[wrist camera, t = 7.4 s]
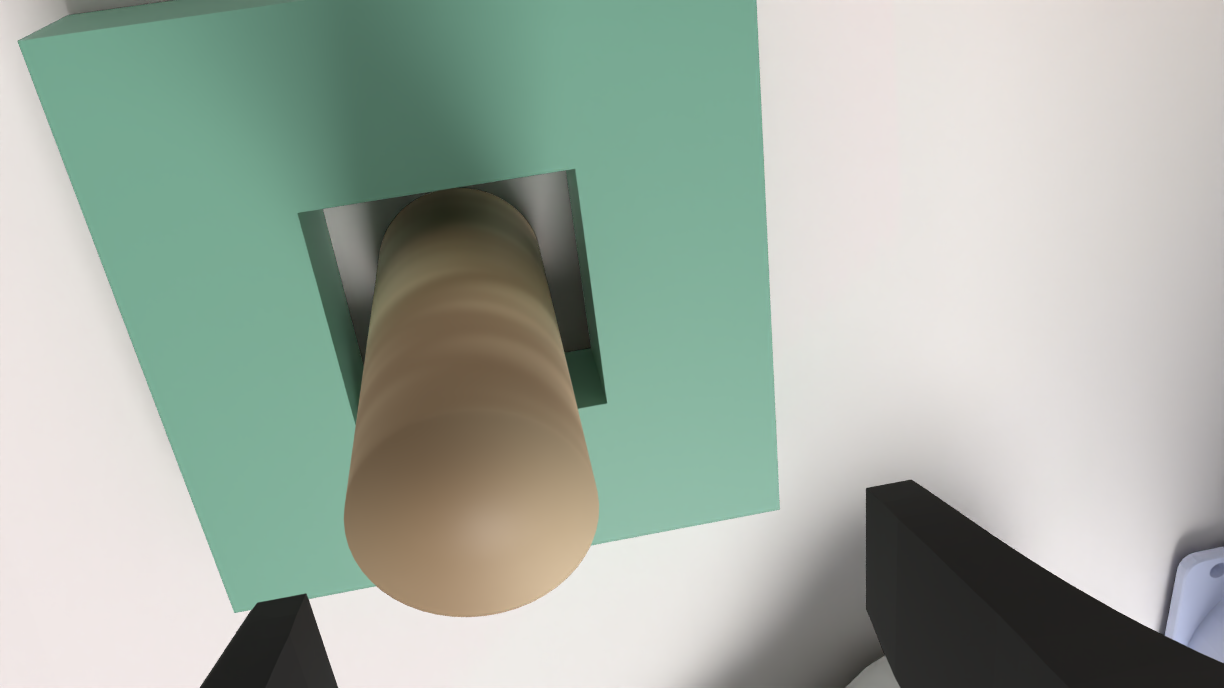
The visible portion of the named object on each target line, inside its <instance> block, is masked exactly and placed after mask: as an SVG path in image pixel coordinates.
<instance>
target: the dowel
mask: <svg viewBox="0 0 1224 688" xmlns="http://www.w3.org/2000/svg"><path fill="white" fill-rule="evenodd" d="M598 519H599V499H598V491H597V487H596V483H595V479H594V475H593V470H592V466H591V462H590V458H589V454H588V450H587V445H586V441H585V437H584V433H583V429H582V424H581V420H580V416H579V412H578V408H577V404H576V399H575V395H574V391H573V387H572V383H571V379H570V374H569V370H568V366H567V362H566V358H565V354H564V349H563V345H562V341H561V337H560V333H559V328H558V324H557V320H556V316H555V312H554V308H553V303H552V299H551V295H550V291H549V287H548V283H547V278H546V274H545V270H544V266H543V262H542V258H541V253H540V249H539V246H538V242H537V239H536V236H535V234H534V232H533V230H532V228H531V227H530V225H529V223H528V222H527V220H526V219H525V218H524V217H523V216H522V214H521V213H520V212H519V211H518V210H516V209H515V208H514V207H513V206H512V205H510V204H509V203H508V202H506V201H505V200H503V199H501V198H499V197H497V196H495V195H493V194H490V193H487V192H484V191H480V190H476V189H469V188H451V189H445V190H439V191H435V192H431V193H429V194H426V195H424V196H422V197H420V198H418V199H416V200H415V201H413V202H411V203H410V204H409V205H407V206H406V207H405V208H404V209H403V210H402V211H401V212H400V213H399V214H398V215H397V216H396V217H395V218H394V220H393V221H392V222H391V224H390V225H389V227H388V229H387V231H386V233H385V235H384V238H383V240H382V243H381V248H380V253H379V260H378V267H377V274H376V282H375V289H374V296H373V303H372V311H371V318H370V325H369V333H368V340H367V347H366V354H365V362H364V369H363V376H362V383H361V391H360V398H359V405H358V412H357V420H356V427H355V434H354V441H353V449H352V456H351V463H350V470H349V478H348V485H347V492H346V499H345V507H344V528H345V535H346V539H347V543H348V546H349V549H350V551H351V553H352V555H353V558H354V560H355V561H356V563H357V564H358V566H359V567H360V569H361V570H362V572H363V573H364V574H365V575H366V576H367V577H368V578H369V580H370V581H371V582H372V583H373V584H375V585H376V586H377V587H378V588H379V589H380V590H382V591H383V592H384V593H386V594H387V595H389V596H391V597H392V598H394V599H395V600H397V601H399V602H401V603H403V604H405V605H407V606H410V607H413V608H416V609H418V610H421V611H425V612H429V613H433V614H437V615H445V616H452V617H476V616H487V615H492V614H498V613H502V612H506V611H509V610H513V609H516V608H519V607H521V606H524V605H526V604H529V603H531V602H533V601H535V600H537V599H539V598H541V597H542V596H544V595H546V594H547V593H549V592H550V591H552V590H553V589H555V588H556V587H557V586H558V585H560V584H561V583H562V582H563V581H564V580H565V579H567V578H568V577H569V576H570V574H571V573H572V572H573V571H574V570H575V569H576V568H577V567H578V565H579V564H580V562H581V561H582V560H583V558H584V557H585V555H586V553H587V551H588V550H589V548H590V546H591V544H592V541H593V538H594V535H595V533H596V529H597V524H598Z"/></svg>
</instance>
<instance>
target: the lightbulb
mask: <svg viewBox="0 0 1224 688" xmlns="http://www.w3.org/2000/svg"><path fill="white" fill-rule="evenodd" d="M845 688H900V686H899V684H898V683H897V681H896V679H895V677H894V675H893V672H892V670H891V668H890V665H889V663H888V661H887V658H886V656H883V657H882V658H880V659H878V660H877V661H875V662H873V663H872V664H870V665H869V666H867V667H866V668H865V669H864V670H863V671H862V672H861V673H860V674H859V675H858V676H857V677H856V678H855V679H854V680H853V681H852V682H851V683H850V684H849V685H847V686H846V687H845Z"/></svg>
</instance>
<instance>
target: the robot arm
mask: <svg viewBox="0 0 1224 688" xmlns="http://www.w3.org/2000/svg"><path fill="white" fill-rule="evenodd" d="M866 610H867V612H868V615H869V617H870V620H871V622H872V624H873V627H874V629H875V632H876V634H877V637H878V639H879V642H880V644H881V647H882V649H883V651H884V654H885V656H886V658H887V661H888V663H889V665H890V668H891V670H892V672H893V675H894V677H895V679H896V681H897V683H898V684H899V686H900V688H1224V546H1223V547H1218V548H1213V549H1208V550H1203V551H1198V552H1194V553H1191V554H1189V555H1187V556H1186V557H1184V558H1183V559H1182V561H1181V562H1180V563H1179V566H1178V568H1177V573H1176V578H1175V584H1174V589H1173V594H1172V600H1171V605H1170V610H1169V616H1168V621H1167V626H1166V632H1165V635H1163V634H1160V633H1158V632H1156V631H1154V630H1152V629H1150V628H1148V627H1146V626H1144V625H1142V624H1140V623H1138V622H1137V621H1135V620H1133V619H1131V618H1129V617H1127V616H1125V615H1123V614H1121V613H1119V612H1118V611H1116V610H1114V609H1112V608H1111V607H1109V606H1107V605H1105V604H1104V603H1102V602H1100V601H1098V600H1097V599H1095V598H1093V597H1091V596H1090V595H1088V594H1086V593H1084V592H1083V591H1081V590H1079V589H1077V588H1076V587H1074V586H1072V585H1070V584H1069V583H1067V582H1065V581H1064V580H1062V579H1061V578H1059V577H1057V576H1056V575H1054V574H1052V573H1051V572H1049V571H1047V570H1046V569H1044V568H1043V567H1041V566H1039V565H1038V564H1036V563H1035V562H1033V561H1031V560H1030V559H1028V558H1027V557H1025V556H1024V555H1022V554H1021V553H1019V552H1018V551H1016V550H1014V549H1013V548H1011V547H1010V546H1008V545H1007V544H1005V543H1004V542H1002V541H1001V540H999V539H998V538H996V537H995V536H993V535H992V534H990V533H989V532H987V531H986V530H984V529H983V528H982V527H980V526H979V525H977V524H976V523H974V522H973V521H971V520H970V519H968V518H967V517H965V516H964V515H963V514H961V513H960V512H958V511H957V510H955V509H954V508H952V507H951V506H950V505H948V504H947V503H945V502H944V501H942V500H941V499H939V498H938V497H937V496H935V495H934V494H932V493H931V492H929V491H928V490H926V489H925V488H923V487H922V486H920V485H919V484H917V483H916V482H914V481H913V480H907V481H901V482H896V483H891V484H886V485H880V486H875V487H870V488H866ZM200 688H338V686H337V683H336V680H335V677H334V674H333V671H332V668H331V665H330V662H329V659H328V656H327V653H326V650H325V647H324V644H323V641H322V638H321V635H320V632H319V629H318V626H317V623H316V620H315V617H314V614H313V611H312V608H311V605H310V602H309V599H308V596H307V593H305V594H300V595H295V596H290V597H284V598H279V599H274V600H268V601H263V602H258V603H257V604H256V605H255V606H254V607H253V609H252V610H251V611H250V613H249V614H248V616H247V617H246V619H245V620H244V622H243V623H242V625H241V626H240V628H239V629H238V631H237V632H236V634H235V635H234V637H233V638H232V640H231V641H230V643H229V644H228V646H227V647H226V649H225V650H224V652H223V653H222V655H221V657H220V658H219V660H218V661H217V663H216V664H215V666H214V667H213V669H212V670H211V672H210V673H209V675H208V676H207V677H206V679H205V680H204V682H203V683H202V685H201V686H200Z"/></svg>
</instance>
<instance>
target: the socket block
mask: <svg viewBox="0 0 1224 688" xmlns="http://www.w3.org/2000/svg"><path fill="white" fill-rule="evenodd" d="M18 44H19V46H20V49H21V52H22V54H23V57H24V59H25V62H26V65H27V67H28V70H29V73H30V75H31V78H32V81H33V83H34V86H35V88H36V91H37V94H38V96H39V99H40V102H41V104H42V107H43V110H44V112H45V115H46V117H47V120H48V123H49V125H50V128H51V131H52V133H53V136H54V139H55V141H56V144H57V146H58V149H59V152H60V154H61V157H62V160H63V162H64V165H65V168H66V170H67V173H68V175H69V178H70V181H71V183H72V186H73V189H74V191H75V194H76V196H77V199H78V202H79V204H80V207H81V210H82V212H83V215H84V218H85V220H86V223H87V225H88V228H89V231H90V233H91V236H92V239H93V241H94V244H95V247H96V249H97V252H98V254H99V257H100V260H101V262H102V265H103V268H104V270H105V273H106V276H107V278H108V281H109V283H110V286H111V289H112V291H113V294H114V297H115V299H116V302H117V305H118V307H119V310H120V312H121V315H122V318H123V320H124V323H125V326H126V328H127V331H128V334H129V336H130V339H131V341H132V344H133V347H134V349H135V352H136V355H137V357H138V360H139V362H140V365H141V368H142V370H143V373H144V376H145V378H146V381H147V384H148V386H149V389H150V391H151V394H152V397H153V399H154V402H155V405H156V407H157V410H158V413H159V415H160V418H161V420H162V423H163V426H164V428H165V431H166V434H167V436H168V439H169V442H170V444H171V447H172V449H173V452H174V455H175V457H176V460H177V463H178V465H179V468H180V471H181V473H182V476H183V478H184V481H185V484H186V486H187V489H188V492H189V494H190V497H191V500H192V502H193V505H194V507H195V510H196V513H197V515H198V518H199V521H200V523H201V526H202V528H203V531H204V534H205V536H206V539H207V542H208V544H209V547H210V550H211V552H212V555H213V557H214V560H215V563H216V565H217V568H218V571H219V573H220V576H221V579H222V581H223V584H224V586H225V589H226V592H227V594H228V597H229V600H230V602H231V605H232V608H233V610H234V613H237V612H242V611H248V610H252V609H253V607H254V606H255V605H256V604H257V603H258V602H263V601H268V600H274V599H279V598H284V597H290V596H295V595H300V594H305V593H307V596H308V599H311V598H316V597H322V596H327V595H332V594H337V593H343V592H348V591H353V590H358V589H364V588H369V587H374V586H376V585H375V584H373V583H372V582H371V581H370V580H369V578H368V577H367V576H366V575H365V574H364V573H363V572H362V570H361V569H360V567H359V566H358V564H357V563H356V561H355V560H354V558H353V555H352V553H351V551H350V549H349V546H348V543H347V539H346V535H345V528H344V507H345V499H346V492H347V485H348V478H349V470H350V463H351V456H352V449H353V441H354V434H355V427H356V420H357V412H358V405H359V398H360V391H361V383H362V376H363V369H364V366H363V362H362V358H361V354H360V350H359V347H358V343H357V339H356V335H355V331H354V327H353V324H352V320H351V316H350V312H349V308H348V305H347V301H346V297H345V293H344V289H343V285H342V282H341V278H340V274H339V270H338V266H337V263H336V259H335V255H334V251H333V247H332V243H331V240H330V236H329V232H328V228H327V224H326V221H325V217H324V213H323V209H325V208H331V207H338V206H344V205H350V204H357V203H363V202H369V201H376V200H382V199H388V198H394V197H401V196H407V195H413V194H420V193H426V192H432V191H439V190H445V189H451V188H457V187H464V186H470V185H476V184H483V183H489V182H495V181H501V180H508V179H514V178H520V177H527V176H533V175H539V174H546V173H552V172H558V171H564V170H566V174H567V182H568V189H569V196H570V203H571V210H572V217H573V224H574V231H575V238H576V246H577V253H578V260H579V267H580V274H581V281H582V288H583V295H584V302H585V309H586V317H587V324H588V331H589V338H590V345H591V348H589V349H583V350H578V351H572V352H566V353H564V354H565V358H566V362H567V366H568V370H569V374H570V379H571V383H572V387H573V391H574V395H575V399H576V404H577V408H578V412H579V416H580V420H581V424H582V429H583V433H584V437H585V441H586V445H587V450H588V454H589V458H590V462H591V466H592V470H593V475H594V479H595V483H596V487H597V491H598V499H599V519H598V524H597V529H596V533H595V535H594V538H593V541H592V544H591V545H596V544H601V543H606V542H611V541H617V540H622V539H627V538H633V537H638V536H643V535H648V534H654V533H659V532H664V531H669V530H675V529H680V528H685V527H690V526H696V525H701V524H706V523H712V522H717V521H722V520H727V519H733V518H738V517H743V516H748V515H754V514H759V513H764V512H770V511H775V510H780V505H779V483H778V461H777V439H776V418H775V396H774V374H773V352H772V331H771V309H770V287H769V265H768V244H767V222H766V200H765V178H764V157H763V135H762V113H761V91H760V70H759V48H758V26H757V5H756V0H172V1H165V2H158V3H151V4H144V5H137V6H130V7H123V8H116V9H108V10H101V11H94V12H87V13H80V14H73V15H67V16H65V17H63V18H62V19H60V20H58V21H56V22H54V23H52V24H50V25H48V26H46V27H44V28H42V29H40V30H38V31H36V32H34V33H32V34H30V35H28V36H26V37H24V38H22V39H20V40H18Z"/></svg>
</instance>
